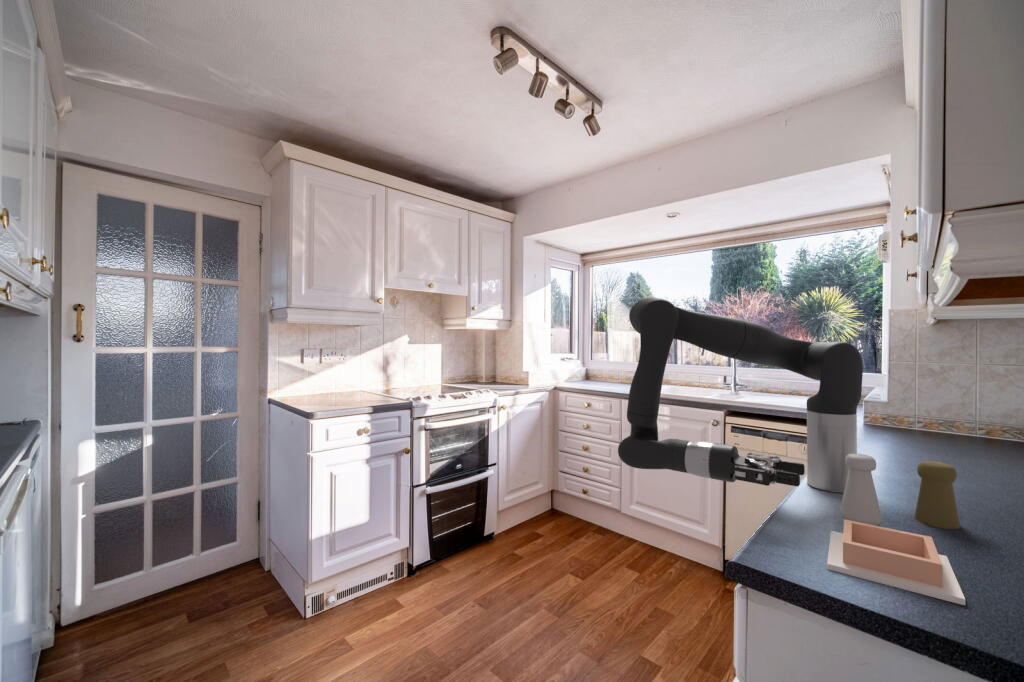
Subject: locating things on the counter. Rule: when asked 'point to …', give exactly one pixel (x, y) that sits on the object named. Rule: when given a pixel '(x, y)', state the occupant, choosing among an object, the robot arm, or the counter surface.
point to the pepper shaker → (937, 495)
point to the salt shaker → (860, 491)
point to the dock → (893, 560)
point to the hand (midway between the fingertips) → (802, 474)
